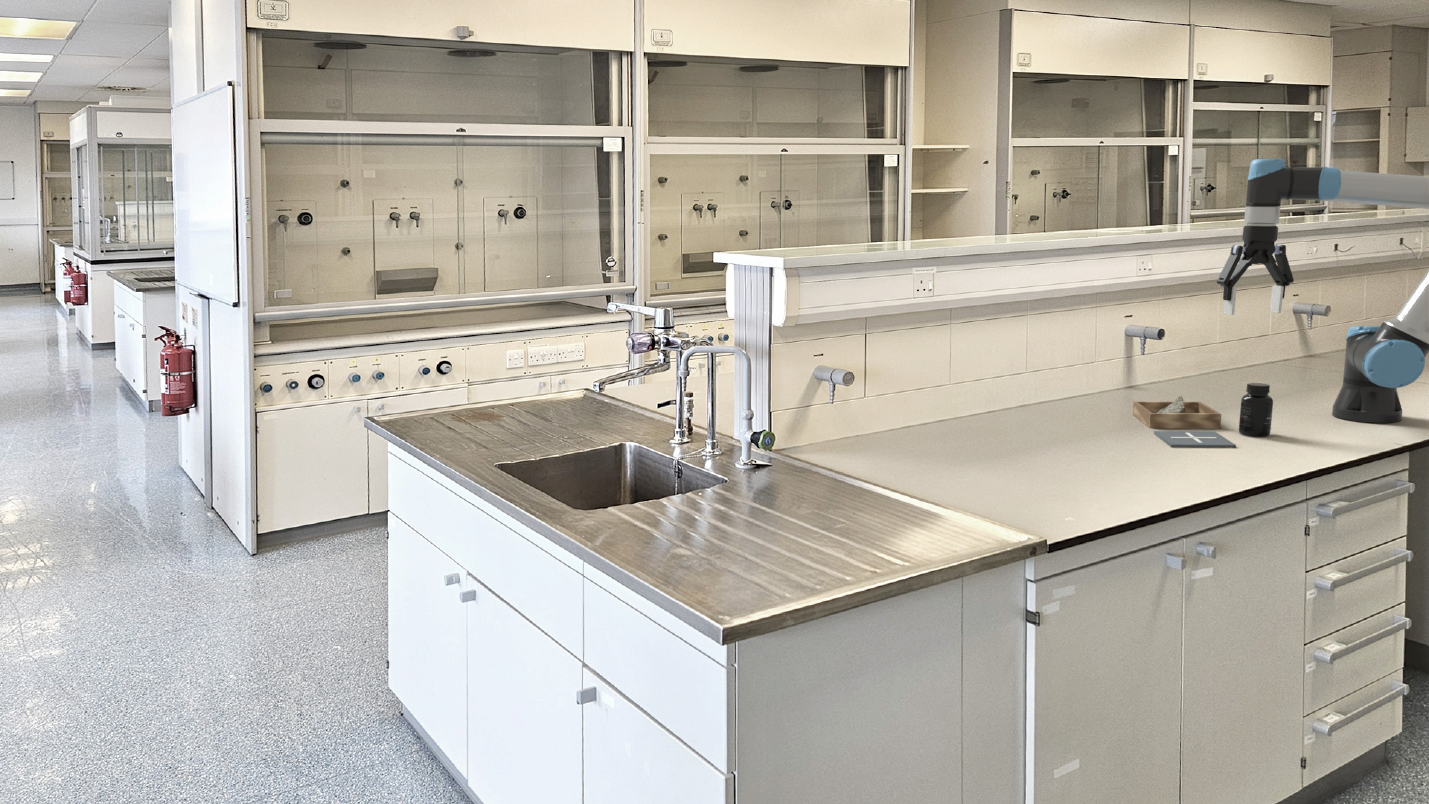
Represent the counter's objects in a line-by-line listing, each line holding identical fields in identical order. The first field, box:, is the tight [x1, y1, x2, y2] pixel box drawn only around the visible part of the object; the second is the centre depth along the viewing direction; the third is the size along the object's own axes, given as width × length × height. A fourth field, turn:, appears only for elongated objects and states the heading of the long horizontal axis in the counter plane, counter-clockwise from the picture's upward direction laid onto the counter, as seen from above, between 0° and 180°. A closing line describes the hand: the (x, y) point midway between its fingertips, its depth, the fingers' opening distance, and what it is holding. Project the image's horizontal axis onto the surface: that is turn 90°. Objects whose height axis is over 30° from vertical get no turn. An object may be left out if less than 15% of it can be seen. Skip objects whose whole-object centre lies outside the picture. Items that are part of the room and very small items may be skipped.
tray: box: [1132, 401, 1222, 429], centre depth 275 cm, size 17×16×4 cm
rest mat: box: [1153, 430, 1237, 449], centre depth 255 cm, size 14×14×1 cm
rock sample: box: [1157, 395, 1186, 413], centre depth 276 cm, size 10×8×9 cm
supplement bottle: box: [1238, 382, 1274, 438], centre depth 259 cm, size 7×7×12 cm
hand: (1252, 313), depth 267 cm, fingers open, 13 cm apart
